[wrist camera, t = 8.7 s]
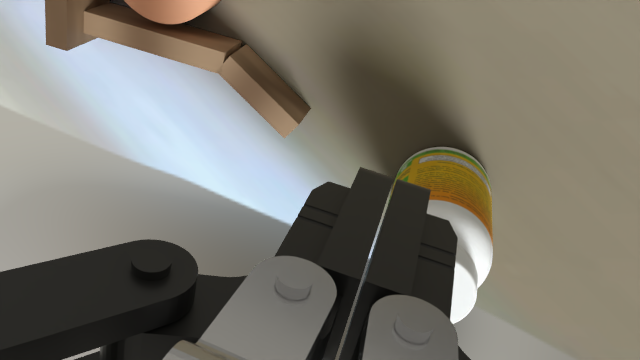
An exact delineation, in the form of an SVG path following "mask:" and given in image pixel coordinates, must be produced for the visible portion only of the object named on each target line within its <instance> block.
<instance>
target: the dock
mask: <svg viewBox="0 0 640 360" xmlns="http://www.w3.org/2000/svg"><path fill="white" fill-rule="evenodd" d="M45 17H46V45H49V46H53V47H56V48H59V49H62V50H66V51H67V50H70V49H72V48H75V47H77V46H79V45H82V44H84V43H86V42H89V41H91V40H93V39H96V38H102V39H105V40H108V41H112V42H115V43H118V44H122V45H125V46H128V47H132V48H135V49H138V50H142V51H145V52H148V53H152V54H155V55H158V56H162V57H165V58H168V59H172V60H175V61H178V62H181V63H185V64H188V65H191V66H195V67H198V68H201V69H205V70H208V71H211V72H215V73H218V74H219V75H220V76H221V77H222V78H223V79H224V80H226V81H227V82H228V83H229V84H230V85H231V86H232V87H233V88H234V89H235V90H236V91H237V92H238V93H239V94H240V95H241V96H242V97H243V98H244V99H245V100H246V101H247V102H248V103H249V104H250V105H251V106H252V107H253V108H254V109H255V110H256V111H257V112H258V113H259V114H260V115H261V116H262V117H263V118H264V119H265V120H266V121H267V122H268V123H269V124H270V125H271V126H272V127H273V128H274V129H275V130H276V131H277V132H278V133H279V134H280V135H281V136H282V137H284V138H285V137H286V136H287V135H288V134H289V133H290V132H292V131H293V130H294V129H295V128H296V127H297V126H298V125H299V124H300V122H301V121H302V120H303V118H304V117H305V116H306V114H307V113H308V111H309V110H310V109H311V108H310V107H309V106H308V105H307V104H306V103H305V102H304V101H303V100H302V99H301V98H300V97H299V96H298V95H297V94H296V93H295V92H294V91H293V90H292V89H291V88H290V87H289V86H288V85H287V84H286V83H285V82H284V81H283V80H282V79H281V78H280V77H279V76H278V75H277V74H276V73H275V72H274V71H273V70H272V69H271V68H270V67H269V66H268V65H267V64H266V63H265V62H264V61H263V60H262V59H261V58H260V57H259V56H258V55H257V54H256V53H255V52H254V51H253V50H252V49H251V48H250V47H249V46H248V45H247V44H246V45H245V46H243V47H242V48H241V42H242V41H240V40H236V39H233V38H230V37H226V36H223V35H219V34H216V33H213V32H209V31H206V30H202V29H199V28H196V27H192V26H189V25H185V24H182V23H179V24H163V23H158V22H155V21H152V20H149V19H147V18H145V17H143V16H142V15H140V14H138V13H137V12H136V11H135V10H133V9H131V8H127V7H124V6H121V5H117V4H114V3H110V0H45Z"/></svg>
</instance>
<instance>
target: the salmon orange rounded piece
mask: <svg viewBox="0 0 640 360" xmlns="http://www.w3.org/2000/svg"><path fill="white" fill-rule="evenodd" d="M124 1H125V2H126V3H127V4H128V5H129V6H130V7H131V8H132V9H133V10H135V11H136V12H137V13H138V14H140V15H142V16H143V17H145V18H147V19H149V20H152V21H155V22H158V23H163V24H179V23H183V22H187V21H189V20H191V19H193V18H195V17H197V16H198V15H200V14H202V13H204V12H206V11H208V10H209V9H211V8H213V7H214V6H216V5H217V4H218V3H219V2H220V1H221V0H124Z"/></svg>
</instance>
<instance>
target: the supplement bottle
mask: <svg viewBox="0 0 640 360" xmlns="http://www.w3.org/2000/svg"><path fill="white" fill-rule="evenodd" d="M397 179H399V180H403V181H406V182H409V183H412V184H415V185H418V186H421V187H424V188H427V189H431V192H430V198H429V203H428V208H427V214H430V215H433V216H436V217H439V218H442V219H445V220H449V222H450V224H451V226H452V228H453V230H454V232H455V233H456V235H457V237H458V241H457V252H456V256H455V257H456V262H455V269H454V271H455V273H454V284H453V294H452V305H451V315H450V321H451V322H452V324H453V323H455V322H458V321H460V320H461V319H463V318H464V317H465V316H466V315H467V314H468V313H469V312H470V311H471V309H472V308H473V306H474V304H475V301H476V297H477V288H478V287H479V286H480V285H481V284H482V283H483V282H484V280H485V279H486V277H487V275H488V273H489V271H490V268H491V264H492V257H493V238H492V196H491V185H490V181H489V178H488V175H487V173H486V171H485V169H484V168H483V167H482V165H481V164H480V163H479V162H478V161H477V160H476V159H475V158H474V157H472V156H471V155H469V154H468V153H465V152H463V151H461V150H458V149H455V148H450V147H433V148H428V149H424V150H422V151H419V152H417V153H415V154H414V155H412V156H411V157H410V158H408V159H407V160H406V161H405V162H404V164H403V165H402V166H401V168H400V169H399V171H398V173H397V176H396V179H395V182H394V185H393V189H394V186H395V183H396V180H397ZM393 189H392V192H393ZM392 192H391V195H392ZM390 198H391V196H390ZM389 201H390V200H389ZM388 204H389V203H388Z"/></svg>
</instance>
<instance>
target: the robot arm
mask: <svg viewBox="0 0 640 360" xmlns="http://www.w3.org/2000/svg"><path fill="white" fill-rule="evenodd" d="M393 179H394V178H393V177H390V176H387V175H383V174H380V173H377V172H374V171H371V170H368V169H365V168H362V167H360V169H359V171H358V173H357V175H356V178H355V180H354V182H353V184H352V186H351V189H350V188H347V187H344V186H341V185H338V184H335V183H332V182H327V183H325V184H323V185H321V186H319V187H317V188H315V189H313V190H312V191H311V193H310V195H309V197H308V199H307V200H306V202H305V204H304V207H302V209H301V211H300V213H299V214H298V217H297V218H296V220H295V221H294V223H293V225H292V227H291V229H290V230H289V232H288V234H287V235H286V237H285V239H284V241H283V242H282V244H281V246H280V248H279V250H278V252H277V253H276V255H275V257H271V258H268V259H265V260H263V261H261V262H260V263H258V264H257V265H256V266H255V267H254V268H253V269H252V271H251V272H250V273H249V275H247V276H242V277H218V276H209V275H200V274H198V267H197V263H196V261H195V259H194V258H193V256H192V255H191V254H190V253H189V252H188V251H186V250H185V249H183V248H182V247H180V246H178V245H175V244H173V243H169V242H165V241H161V240H138V241H133V242H128V243H124V244H119V245H115V246H111V247H106V248H102V249H98V250H94V251H89V252H85V253H81V254H77V255H72V256H68V257H63V258H59V259H55V260H50V261H46V262H42V263H37V264H33V265H29V266H25V267H20V268H16V269H11V270H7V271H3V272H0V360H62V359H65V358H68V357H71V356H74V355H77V354H80V353H83V352H86V351H90V350H92V349H96V348H99V347H100V351H98V352H96V353H92V354H90V355H87V356H84V357H81V358H78V359H75V360H335V357H336V354H337V351H338V348H339V345H340V342H341V339H342V336H343V333H344V329H345V327H346V323H347V320H348V317H349V314H350V311H351V308H352V305H353V301H354V299H355V296H356V293H357V290H358V287H359V284H360V281H361V278H362V275H363V271H364V268H365V265H366V262H367V259H368V256H369V253H370V250H371V247H372V244H373V241H374V238H375V234H376V231H377V228H378V225H379V222H380V219H381V216H382V213H383V210H384V207H385V204H386V200H387V197H388V194H389V191H390V188H391V185H392V182H393ZM430 192H431V189H427V188H424V187H421V186H418V185H415V184H412V183H409V182H406V181H403V180H399V179H397V180H396V183H395V186H394V189H393V192H392V195H391V198H390V201H389V204H388V207H387V210H386V213H385V216H384V219H383V222H382V225H381V228H380V231H379V234H378V237H377V240H376V243H375V246H374V249H373V252H372V255H371V259H370V262H369V265H368V268H367V271H366V274H365V277H364V281H363V284H362V287H361V290H360V293H359V296H358V300H357V303H356V306H355V309H354V312H353V316H352V318H351V322H350V325H349V328H348V331H347V334H346V338H345V341H344V344H343V347H342V350H341V353H340V356H339V360H471V359H470V358H469V357H468V356H467V355H466V354H465V353H464V352H463V351H462V350H461V349H460V347H459V346H458V337H457V333H456V330H455V327H454V326H453V324H452V322H451V321H450V315H451V305H452V294H453V284H454V273H455V271H454V269H455V262H456V257H455V256H456V252H457V241H458V237H457V235H456V233H455V232H454V230H453V228H452V226H451V224H450V222H449V220H445V219H442V218H439V217H436V216H433V215H430V214H427V208H428V203H429V198H430Z"/></svg>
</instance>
